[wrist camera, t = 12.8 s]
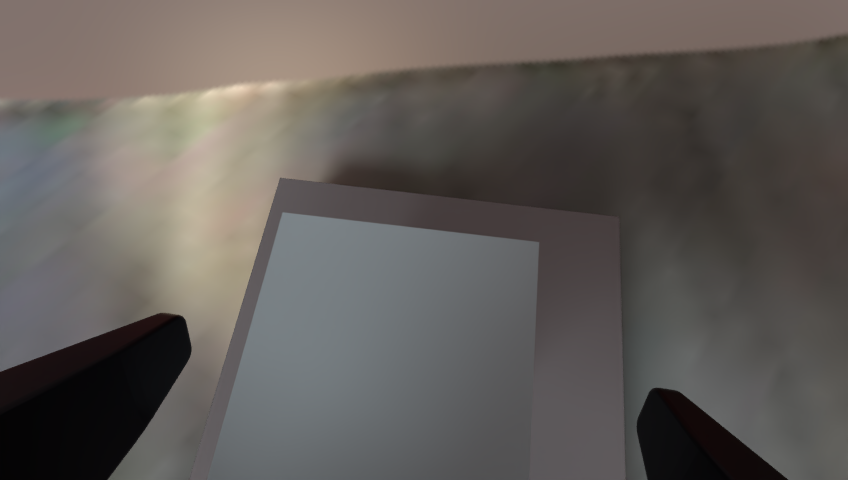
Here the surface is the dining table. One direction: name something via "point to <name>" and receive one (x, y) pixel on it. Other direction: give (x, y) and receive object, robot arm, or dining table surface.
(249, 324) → the square socket base
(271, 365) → the slate block
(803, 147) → the dining table surface
